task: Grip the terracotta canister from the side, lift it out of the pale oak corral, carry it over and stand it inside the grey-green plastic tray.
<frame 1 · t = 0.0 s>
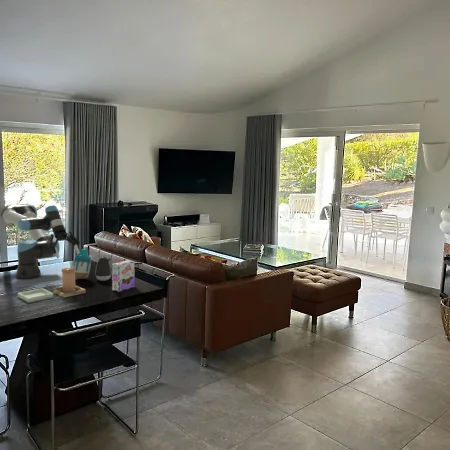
hand: (68, 256, 285), 16 cm above the table, tool tilted 40°, fingers open, 13 cm apart
oak corral: (69, 292, 263), on the table
candy box: (123, 289, 273), on the table
vase: (79, 279, 290), point 1 cm above the table, touching gripper
pump dispenser: (103, 280, 293), on the table
canister: (68, 281, 262), in the oak corral
green tray: (35, 297, 253), on the table
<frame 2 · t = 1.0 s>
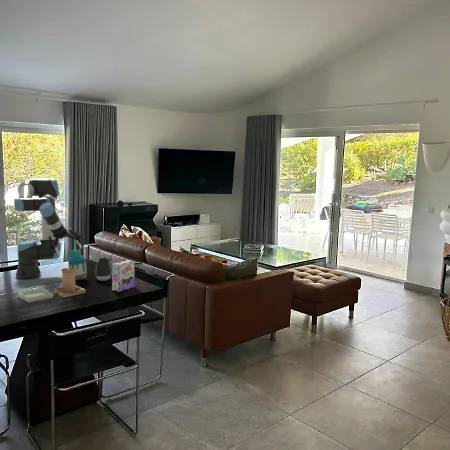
hand: (70, 250, 280), 21 cm above the table, tool tilted 35°, fingers open, 13 cm apart
vase: (79, 279, 291), on the table
everything else where it was.
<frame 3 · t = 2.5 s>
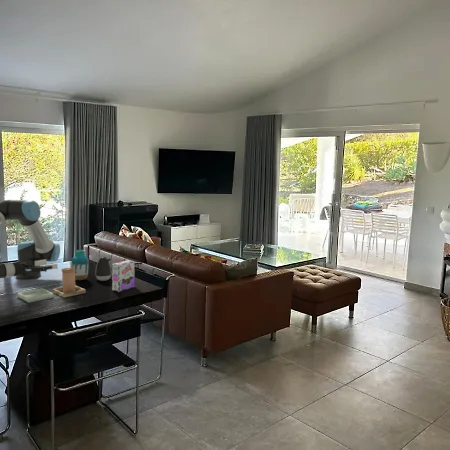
hand: (51, 263, 253), 19 cm above the table, tool horizontal, fingers open, 13 cm apart
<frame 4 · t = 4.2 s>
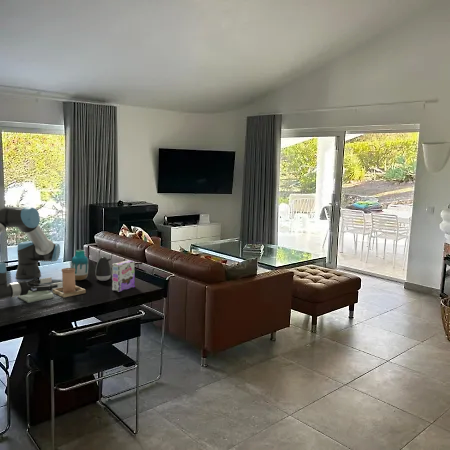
hand: (56, 281, 256), 8 cm above the table, tool horizontal, fingers open, 13 cm apart
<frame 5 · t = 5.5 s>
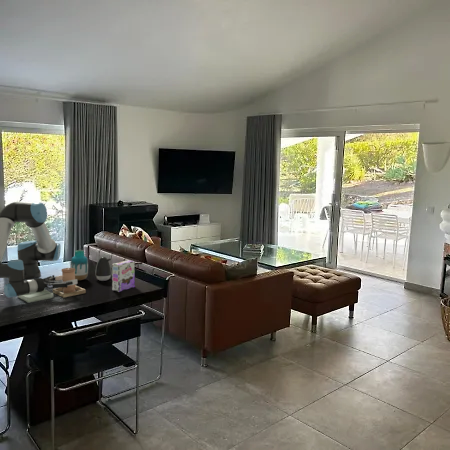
hand: (71, 279, 263), 8 cm above the table, tool horizontal, fingers open, 13 cm apart
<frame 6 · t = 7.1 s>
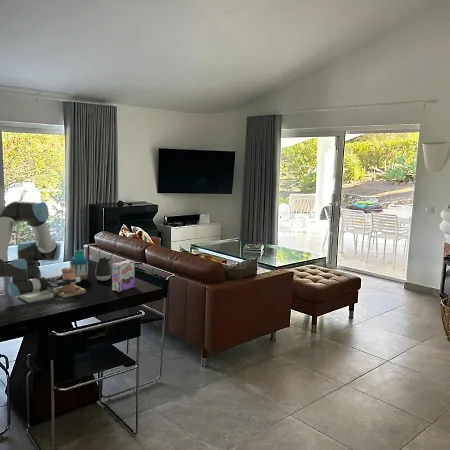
hand: (76, 277, 265), 8 cm above the table, tool horizontal, fingers closed on canister, 7 cm apart
canister: (68, 281, 262), in the oak corral, touching gripper
when the fingers open (10 cm above the table, at t = 13.1 s): canister drops 1 cm, resting on green tray.
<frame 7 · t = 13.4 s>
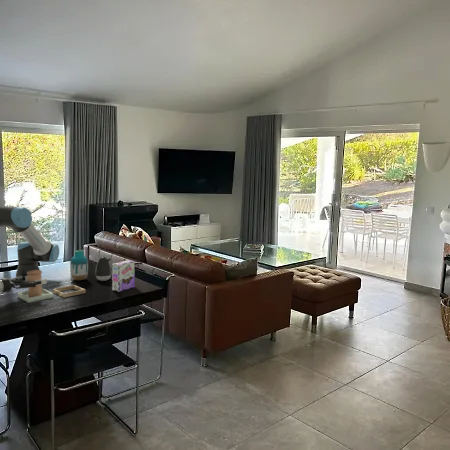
hand: (41, 278, 254), 10 cm above the table, tool horizontal, fingers open, 11 cm apart
canister: (34, 283, 252), in the green tray, point 8 cm above the table
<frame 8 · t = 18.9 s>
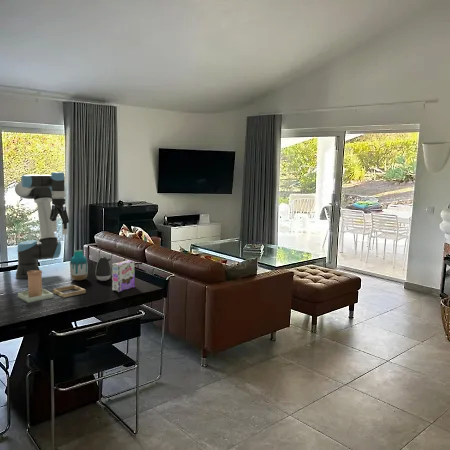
hand: (59, 232, 274), 33 cm above the table, tool pointing down, fingers open, 13 cm apart
at the end: canister inside the target area on the green tray (0.1 cm from its centre), point 7.8 cm above the green tray's base; canister tilted 1°; the gripper is holding nothing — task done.
